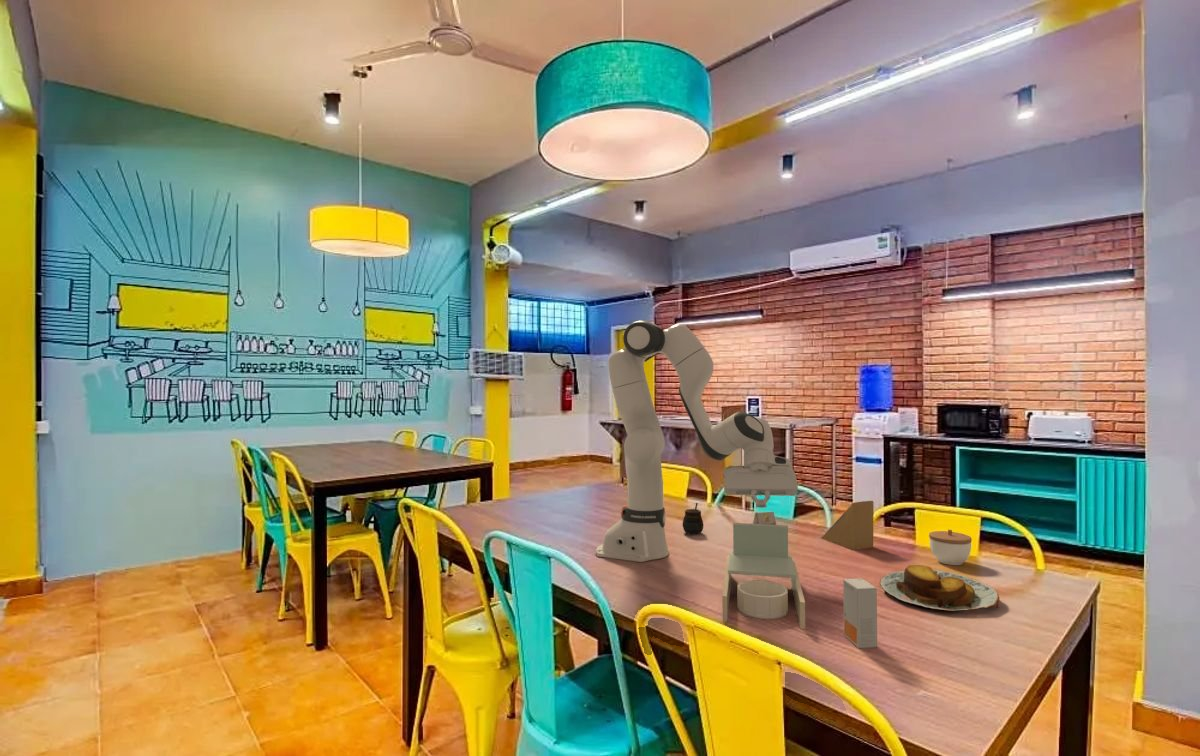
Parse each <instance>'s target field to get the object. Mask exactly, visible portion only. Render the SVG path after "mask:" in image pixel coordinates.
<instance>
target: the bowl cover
mask: <svg viewBox="0 0 1200 756" xmlns="http://www.w3.org/2000/svg"><path fill="white" fill-rule="evenodd" d="M732 525H733V527H732V529H733V530H732V531H733V532H732V533H733V535H732V536H733V537H732V538H733V544H732V545H733V546H732V547H733V552H732V551H730V552H729V555H730V556H729V565H728V574H731V575H742V576H745V575H746V576H755V577H756V576H757V577H759V576H761V577H771V578H772V577H773V578H787V579H790V578H796V572H795V568H794V564H793V560H792V559H793V557H792V555H789V527H788V525H783V524H777V525H768V524H753V523H746V522H745V523H744V522H742V523H741V522H733V524H732Z"/></svg>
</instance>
